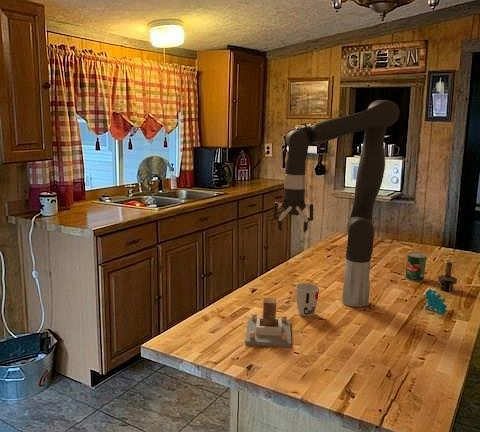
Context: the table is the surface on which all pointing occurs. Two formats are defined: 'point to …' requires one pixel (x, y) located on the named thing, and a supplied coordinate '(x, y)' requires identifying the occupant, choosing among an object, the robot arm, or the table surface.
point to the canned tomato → (415, 266)
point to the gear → (435, 302)
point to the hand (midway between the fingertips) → (292, 231)
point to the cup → (306, 298)
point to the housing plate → (268, 332)
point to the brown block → (269, 312)
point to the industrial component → (447, 279)
